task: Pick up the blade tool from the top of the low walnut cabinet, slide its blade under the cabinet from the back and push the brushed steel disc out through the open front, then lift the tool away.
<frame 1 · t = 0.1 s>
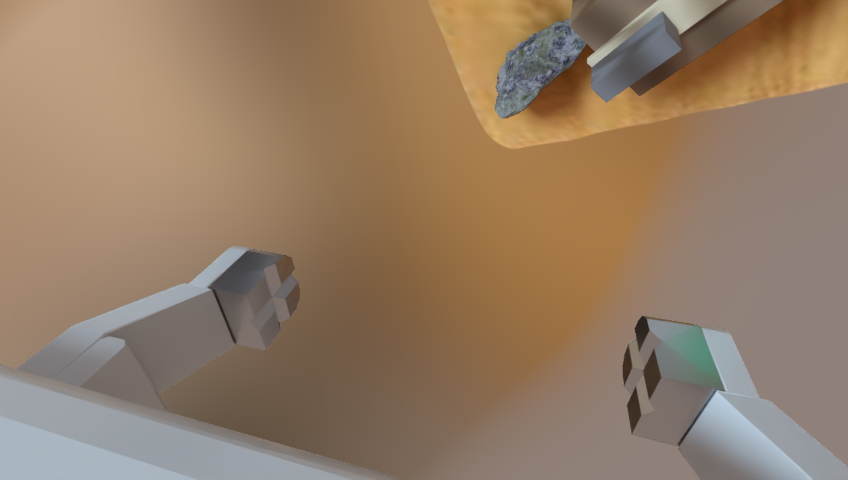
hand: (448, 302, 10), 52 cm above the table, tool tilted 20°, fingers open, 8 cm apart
mineral rock: (540, 58, 58), on the table
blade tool: (631, 44, 43), point 10 cm above the table, touching walnut cabinet
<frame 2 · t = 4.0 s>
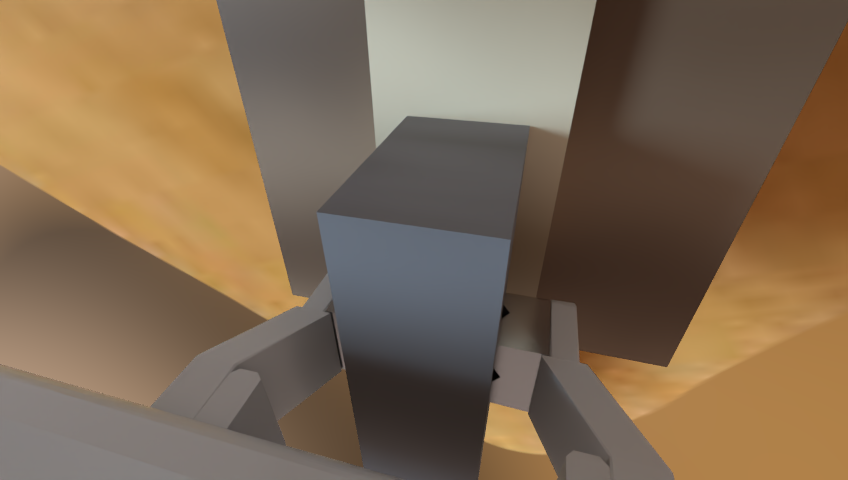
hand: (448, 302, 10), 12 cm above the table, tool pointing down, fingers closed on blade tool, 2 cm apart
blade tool: (465, 251, 11), point 10 cm above the table, touching gripper, walnut cabinet
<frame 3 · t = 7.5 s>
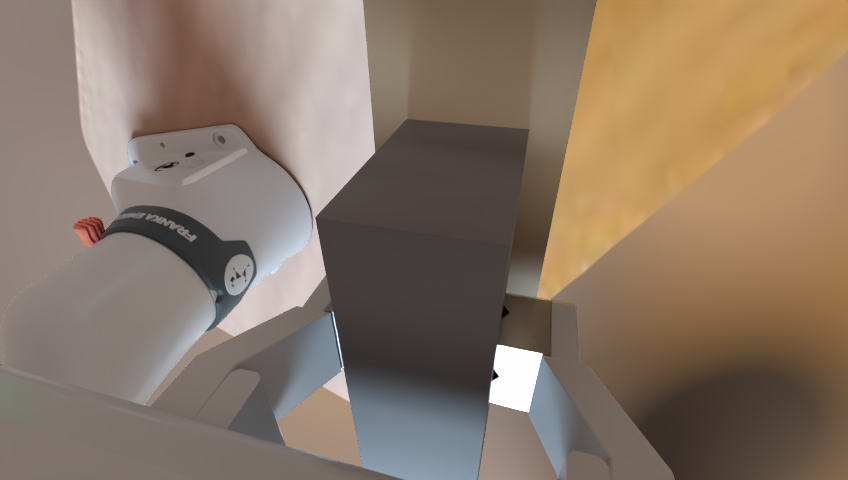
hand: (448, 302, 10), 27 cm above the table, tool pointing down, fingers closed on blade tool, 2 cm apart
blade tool: (464, 254, 11), point 25 cm above the table, touching gripper
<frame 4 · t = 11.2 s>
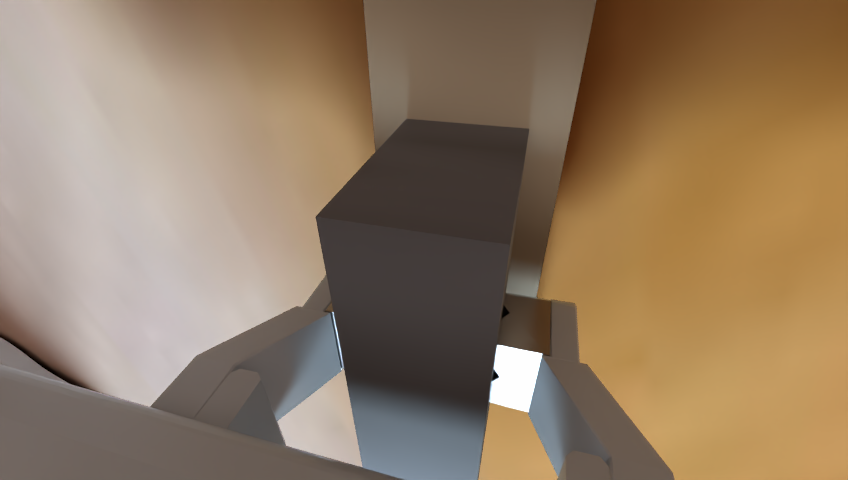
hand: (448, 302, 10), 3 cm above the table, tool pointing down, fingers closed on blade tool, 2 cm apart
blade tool: (464, 253, 11), point 1 cm above the table, touching gripper
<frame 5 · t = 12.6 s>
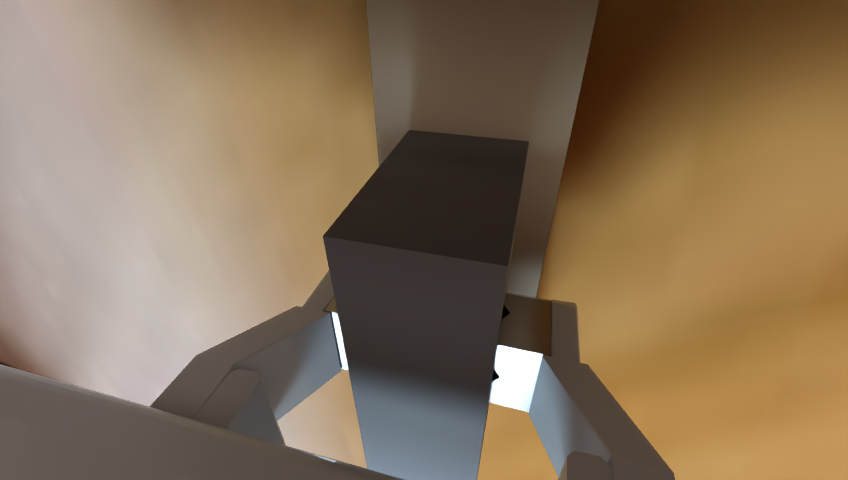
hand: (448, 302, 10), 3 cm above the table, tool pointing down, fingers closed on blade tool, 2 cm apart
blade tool: (465, 257, 12), on the table, touching gripper, steel disc
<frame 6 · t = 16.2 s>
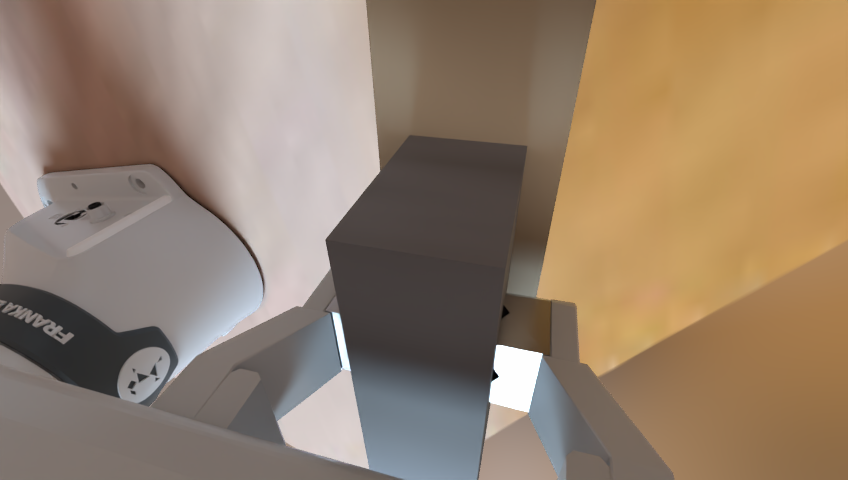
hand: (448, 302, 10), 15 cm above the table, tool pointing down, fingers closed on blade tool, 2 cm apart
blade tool: (466, 260, 12), point 12 cm above the table, touching gripper
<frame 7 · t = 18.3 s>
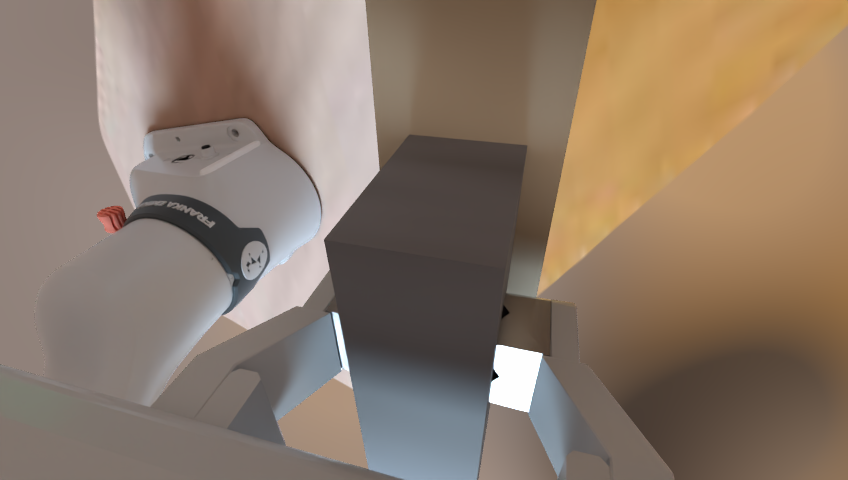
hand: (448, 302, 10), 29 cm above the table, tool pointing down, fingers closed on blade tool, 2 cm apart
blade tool: (466, 260, 12), point 27 cm above the table, touching gripper
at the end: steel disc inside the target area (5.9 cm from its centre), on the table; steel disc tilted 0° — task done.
